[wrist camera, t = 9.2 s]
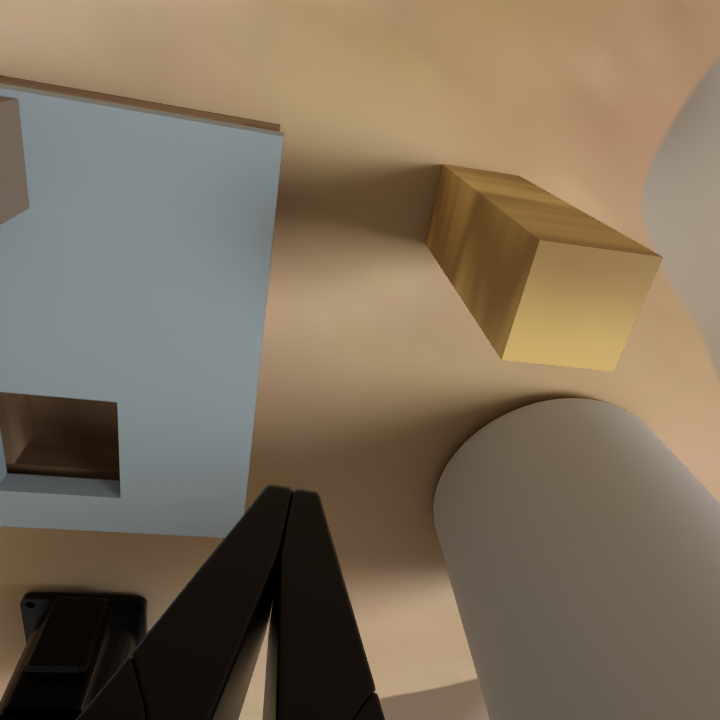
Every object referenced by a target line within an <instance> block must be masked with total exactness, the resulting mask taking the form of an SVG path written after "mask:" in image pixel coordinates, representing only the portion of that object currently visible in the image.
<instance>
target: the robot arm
mask: <svg viewBox="0 0 720 720" xmlns="http://www.w3.org/2000/svg"><path fill="white" fill-rule="evenodd" d="M292 493H293V494H292ZM272 604H273V605H272ZM20 606H21V612H22V618H23V624H24V630H25V636H26V642H27V644H26V646H25V649H24V651H23V653H22V655H21V657H20V659H19V662H18V664H17V666H16V668H15V670H14V673H13V675H12V677H11V679H10V681H9V683H8V686H7V688H6V690H5V692H4V694H3V696H2V699H1V701H0V720H238V719H239V716H240V712H241V709H242V706H243V703H244V700H245V696H246V693H247V690H248V687H249V684H250V681H251V677H252V674H253V671H254V668H255V665H256V661H257V658H258V655H259V652H260V649H261V646H262V642H263V639H264V636H265V632H266V629H267V625H268V622H269V618H270V613H271V618H270V626H269V636H268V650H267V664H266V679H265V693H264V707H263V720H385V718H384V715H383V711H382V708H381V704H380V702H379V698H378V695H377V694H376V693H374V692H375V685H374V681H373V678H372V675H371V671H370V668H369V664H368V661H367V657H366V654H365V651H364V647H363V644H362V640H361V637H360V633H359V630H358V627H357V623H356V620H355V616H354V613H353V609H352V606H351V603H350V599H349V596H348V592H347V589H346V586H345V582H344V579H343V575H342V572H341V568H340V565H339V562H338V558H337V555H336V551H335V548H334V544H333V541H332V538H331V534H330V531H329V527H328V524H327V520H326V517H325V514H324V510H323V507H322V503H321V500H320V497H319V495H318V493H317V492H315V491H310V490H304V489H295V490H294V491H292V489H291V488H290V487H285V486H279V485H273V484H271V485H268V486H267V487H266V488H265V489H264V490H263V491H262V493H261V494H260V495H259V496H258V498H257V499H256V500H255V501H254V503H253V504H252V505H251V506H250V507H249V509H248V510H247V511H246V512H245V514H244V515H243V516H242V517H241V519H240V520H239V521H238V522H237V524H236V525H235V526H234V527H233V528H232V530H231V531H230V532H229V533H228V535H227V536H226V537H225V538H224V540H223V541H222V542H221V543H220V545H219V546H218V547H217V548H216V550H215V551H214V552H213V553H212V554H211V556H210V557H209V558H208V559H207V561H206V562H205V563H204V564H203V566H202V567H201V568H200V569H199V571H198V572H197V573H196V574H195V575H194V577H193V578H192V579H191V580H190V582H189V583H188V584H187V585H186V587H185V588H184V589H183V590H182V592H181V593H180V594H179V595H178V596H177V598H176V599H175V600H174V601H173V603H172V604H171V605H170V606H169V608H168V609H167V610H166V611H165V613H164V614H163V615H162V616H161V618H160V619H159V620H158V621H157V622H156V624H155V625H154V626H153V627H152V629H151V630H150V631H149V632H148V634H147V601H146V599H145V598H143V597H139V596H116V595H86V594H57V593H27V594H25V595H24V597H23V599H22V601H21V603H20ZM271 609H272V611H271Z"/></svg>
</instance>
